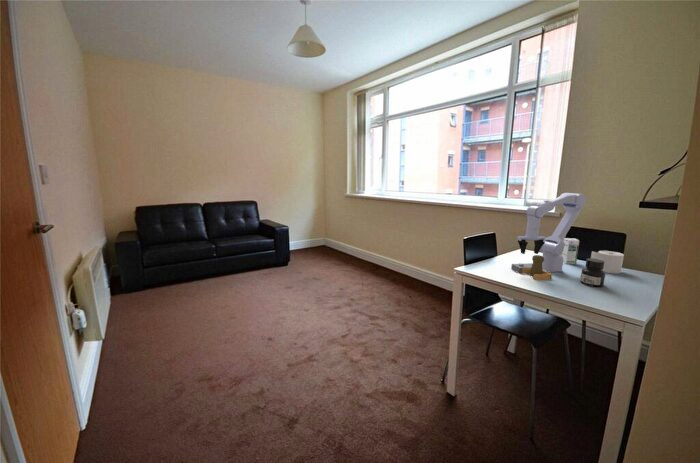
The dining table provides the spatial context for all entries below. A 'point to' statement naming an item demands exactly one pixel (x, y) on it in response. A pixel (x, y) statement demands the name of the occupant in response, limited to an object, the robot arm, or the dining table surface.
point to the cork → (536, 265)
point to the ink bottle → (593, 273)
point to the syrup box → (570, 250)
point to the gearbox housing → (527, 268)
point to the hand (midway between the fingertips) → (529, 253)
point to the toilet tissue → (609, 260)
